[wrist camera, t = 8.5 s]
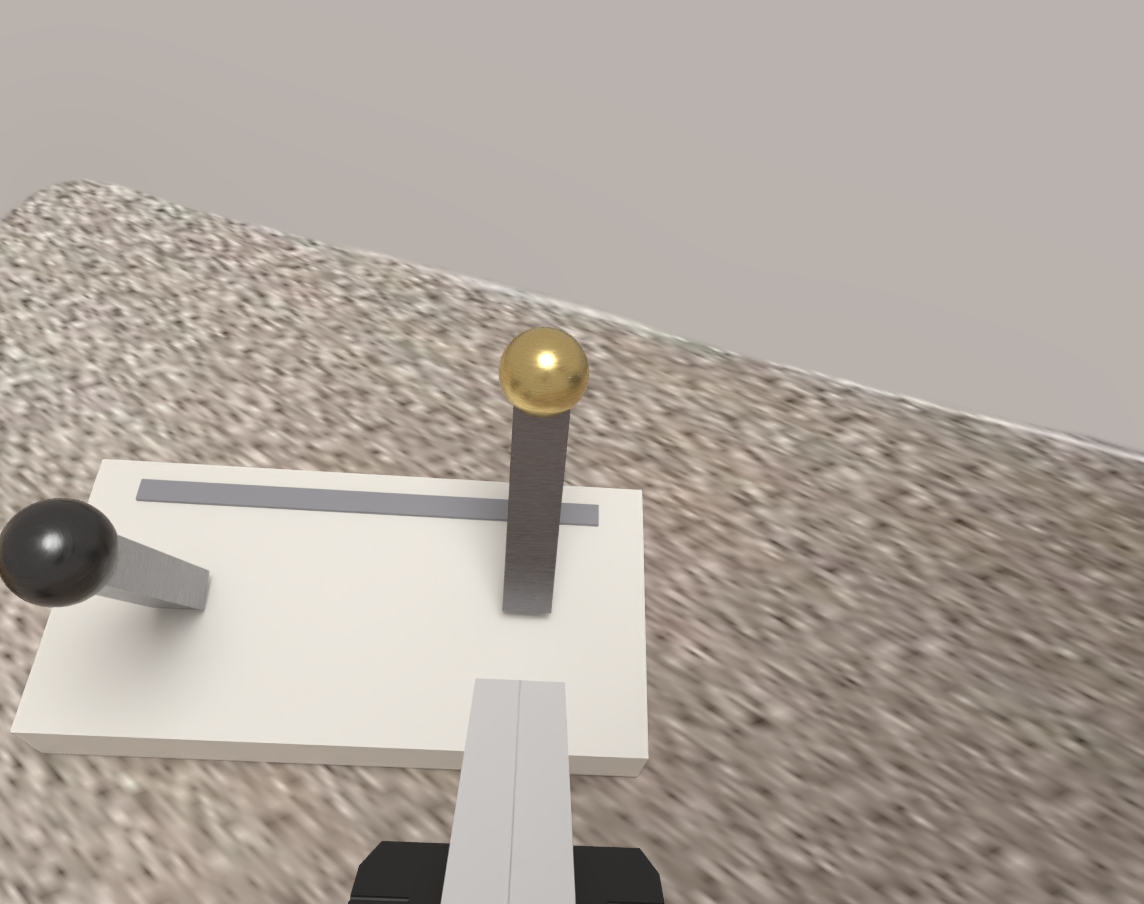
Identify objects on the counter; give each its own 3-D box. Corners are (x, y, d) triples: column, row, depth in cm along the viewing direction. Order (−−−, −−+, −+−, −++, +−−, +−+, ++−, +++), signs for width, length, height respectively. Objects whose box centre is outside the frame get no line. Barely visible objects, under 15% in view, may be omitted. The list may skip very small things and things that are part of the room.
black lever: (216, 631, 37) (82, 605, 26) (134, 627, 37) (-39, 599, 25) (227, 551, 38) (101, 491, 26) (147, 547, 38) (-16, 484, 26)
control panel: (637, 776, 39) (649, 757, 36) (41, 753, 37) (7, 730, 35) (633, 521, 45) (642, 487, 42) (124, 492, 44) (101, 456, 41)
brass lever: (566, 627, 37) (595, 356, 31) (486, 623, 37) (498, 349, 31) (565, 575, 40) (592, 314, 33) (490, 571, 40) (502, 308, 33)
